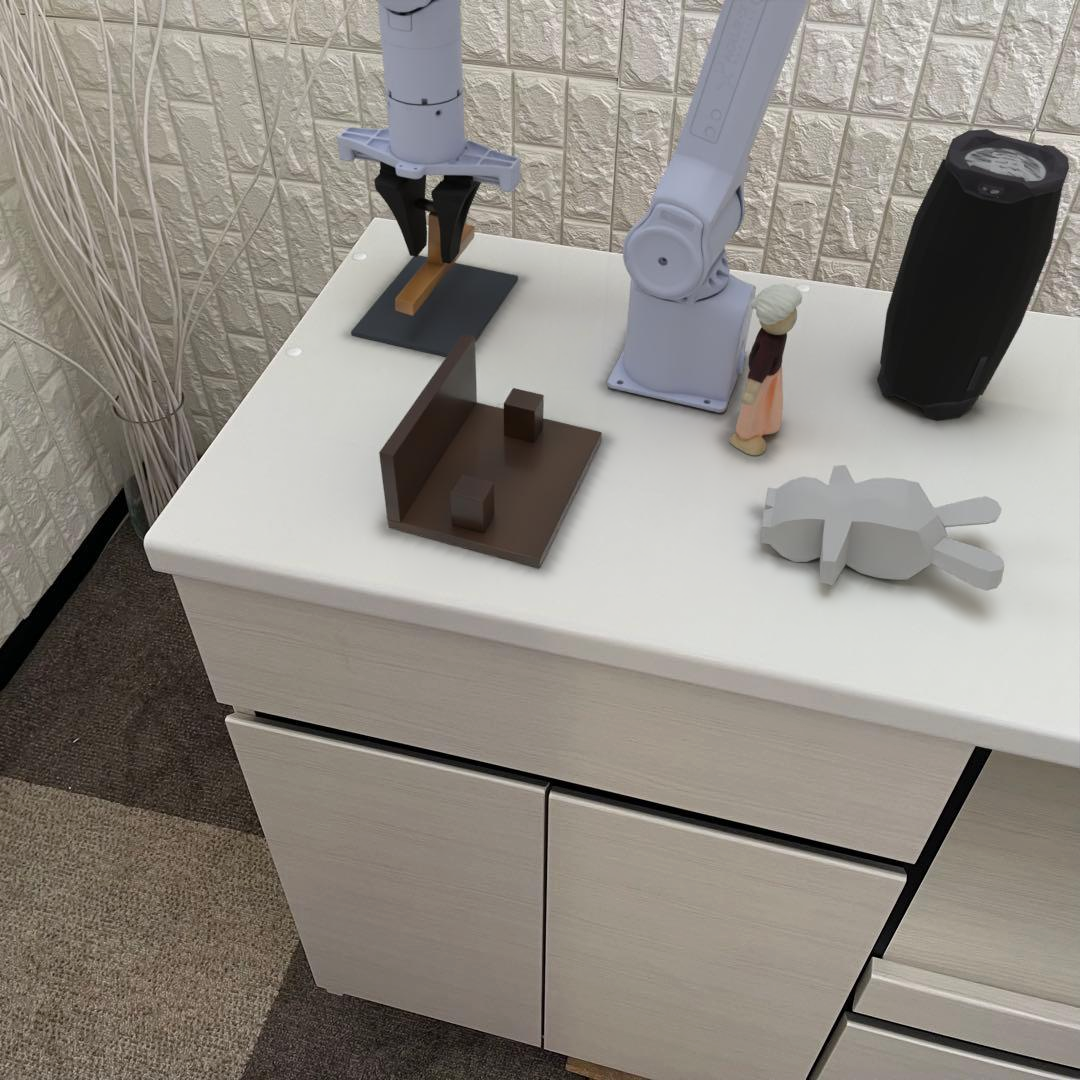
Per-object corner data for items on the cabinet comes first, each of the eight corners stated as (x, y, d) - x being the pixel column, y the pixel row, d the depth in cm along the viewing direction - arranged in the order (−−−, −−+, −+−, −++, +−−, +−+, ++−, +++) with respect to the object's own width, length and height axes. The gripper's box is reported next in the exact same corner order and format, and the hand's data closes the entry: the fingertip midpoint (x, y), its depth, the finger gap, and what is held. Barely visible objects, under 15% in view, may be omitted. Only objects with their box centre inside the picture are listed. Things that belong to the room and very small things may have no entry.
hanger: (474, 238, 93) (478, 169, 88) (413, 316, 84) (413, 245, 80) (445, 229, 93) (447, 161, 89) (381, 307, 85) (380, 235, 80)
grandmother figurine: (776, 468, 77) (811, 321, 68) (723, 460, 78) (751, 313, 69) (780, 403, 83) (813, 259, 74) (731, 397, 83) (758, 253, 74)
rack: (601, 439, 79) (607, 365, 74) (539, 568, 70) (541, 493, 65) (465, 407, 82) (462, 333, 77) (387, 527, 72) (378, 452, 67)
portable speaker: (859, 355, 87) (925, 122, 73) (974, 361, 87) (1062, 128, 73) (876, 420, 81) (952, 180, 67) (999, 427, 81) (1100, 187, 67)
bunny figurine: (773, 443, 73) (1006, 464, 69) (769, 498, 76) (991, 521, 73) (756, 537, 67) (1012, 566, 63) (753, 593, 70) (995, 623, 66)
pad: (518, 279, 94) (518, 275, 94) (462, 360, 86) (462, 356, 86) (415, 258, 97) (415, 254, 96) (351, 335, 88) (350, 331, 88)
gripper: (310, 94, 77) (333, 260, 87) (496, 127, 74) (498, 296, 83) (353, 59, 81) (370, 220, 91) (530, 88, 78) (528, 252, 88)
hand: (434, 253), depth 88 cm, fingers closed on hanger, 2 cm apart
